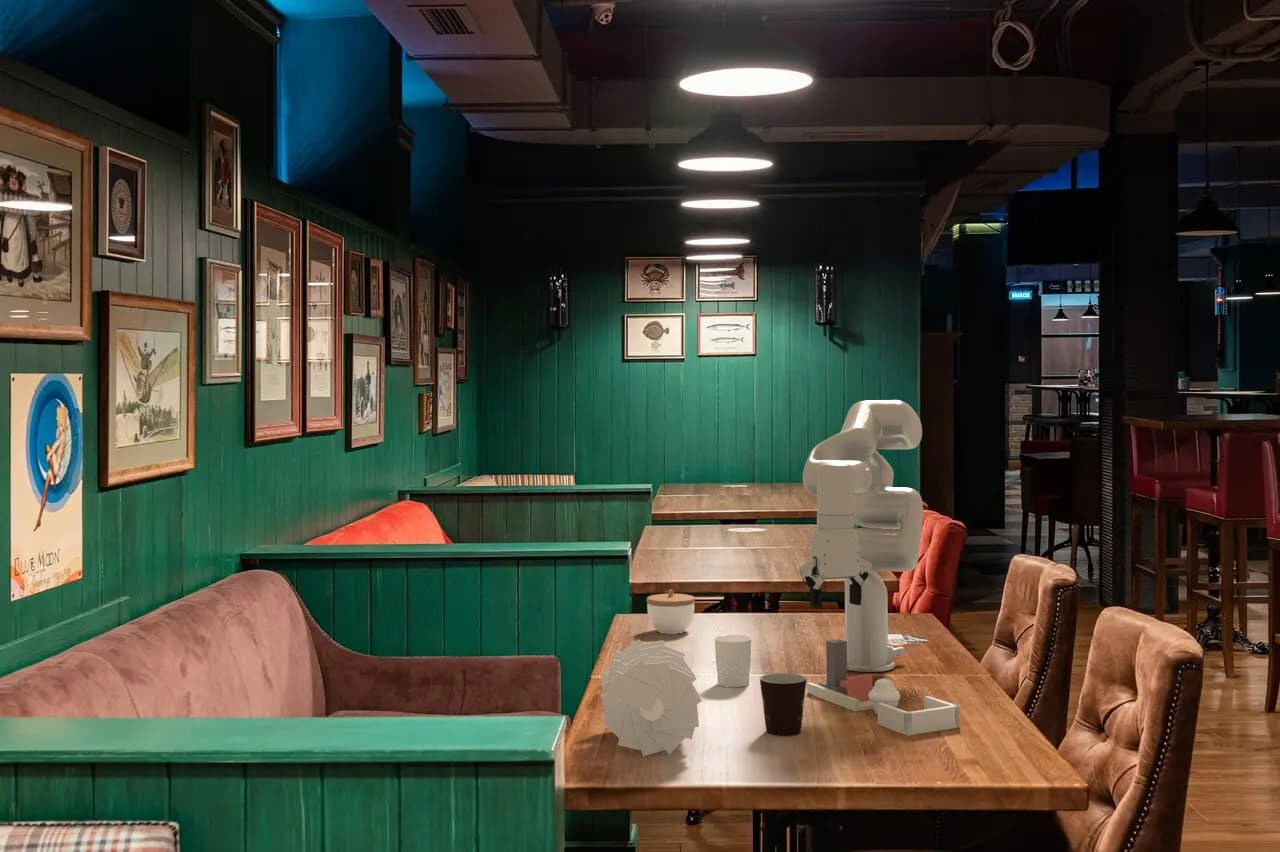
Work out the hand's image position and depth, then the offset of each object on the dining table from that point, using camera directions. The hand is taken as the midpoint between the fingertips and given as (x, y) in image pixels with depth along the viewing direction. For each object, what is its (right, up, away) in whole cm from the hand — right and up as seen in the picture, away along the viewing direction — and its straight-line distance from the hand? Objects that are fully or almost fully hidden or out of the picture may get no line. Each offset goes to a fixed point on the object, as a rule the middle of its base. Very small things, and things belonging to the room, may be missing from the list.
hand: (835, 606), depth 265 cm
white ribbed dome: (+7, -19, -14) cm, 25 cm away
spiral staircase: (-38, -20, -32) cm, 54 cm away
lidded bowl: (-32, -17, +74) cm, 83 cm away
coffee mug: (-13, -20, -25) cm, 34 cm away
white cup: (-20, -19, +13) cm, 30 cm away
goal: (+12, -19, -23) cm, 32 cm away
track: (+2, -19, -2) cm, 19 cm away
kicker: (+2, -18, -2) cm, 18 cm away
